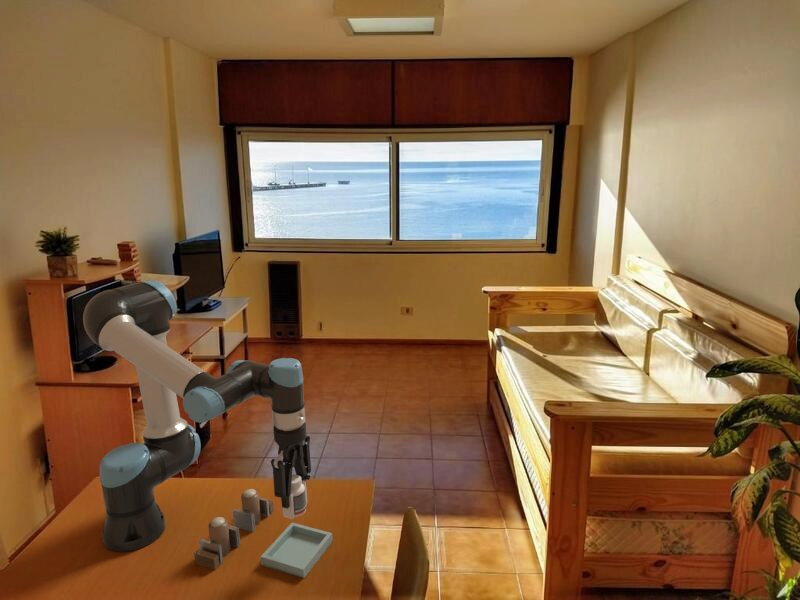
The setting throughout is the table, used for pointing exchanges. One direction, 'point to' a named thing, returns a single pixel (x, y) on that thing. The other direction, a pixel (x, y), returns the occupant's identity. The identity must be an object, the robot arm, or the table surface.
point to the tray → (297, 550)
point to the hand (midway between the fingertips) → (295, 509)
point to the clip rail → (230, 535)
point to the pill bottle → (298, 495)
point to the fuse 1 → (220, 534)
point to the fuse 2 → (251, 503)
